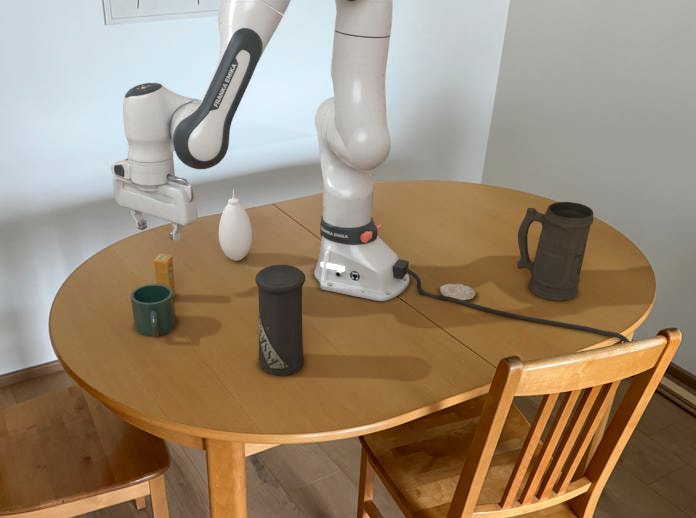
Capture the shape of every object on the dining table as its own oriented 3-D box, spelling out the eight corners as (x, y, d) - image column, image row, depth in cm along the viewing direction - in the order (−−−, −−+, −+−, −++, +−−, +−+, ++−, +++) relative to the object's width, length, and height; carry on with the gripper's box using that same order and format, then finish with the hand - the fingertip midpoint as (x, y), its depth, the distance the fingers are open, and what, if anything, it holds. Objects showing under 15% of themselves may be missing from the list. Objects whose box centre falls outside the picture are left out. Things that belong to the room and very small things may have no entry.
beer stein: (583, 285, 165) (597, 202, 154) (577, 305, 157) (591, 220, 146) (515, 275, 171) (525, 195, 160) (506, 295, 163) (515, 212, 152)
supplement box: (171, 302, 157) (167, 261, 151) (156, 300, 158) (151, 259, 152) (176, 295, 160) (172, 254, 154) (162, 293, 160) (157, 253, 155)
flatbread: (476, 288, 163) (477, 285, 162) (473, 304, 157) (473, 300, 157) (441, 283, 165) (441, 279, 164) (436, 298, 159) (436, 294, 159)
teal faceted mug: (135, 317, 152) (130, 285, 148) (174, 313, 153) (171, 282, 149) (135, 346, 142) (130, 314, 138) (178, 342, 144) (174, 310, 140)
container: (257, 352, 141) (254, 261, 130) (302, 350, 142) (303, 260, 130) (258, 378, 134) (255, 284, 123) (306, 376, 134) (307, 282, 123)
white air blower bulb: (239, 269, 170) (236, 197, 160) (214, 260, 174) (209, 190, 164) (259, 257, 176) (257, 187, 166) (234, 249, 179) (230, 180, 169)
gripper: (202, 176, 140) (206, 241, 148) (126, 155, 149) (134, 218, 157) (180, 185, 135) (186, 252, 143) (104, 164, 144) (113, 227, 152)
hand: (158, 234), depth 150 cm, fingers open, 8 cm apart
